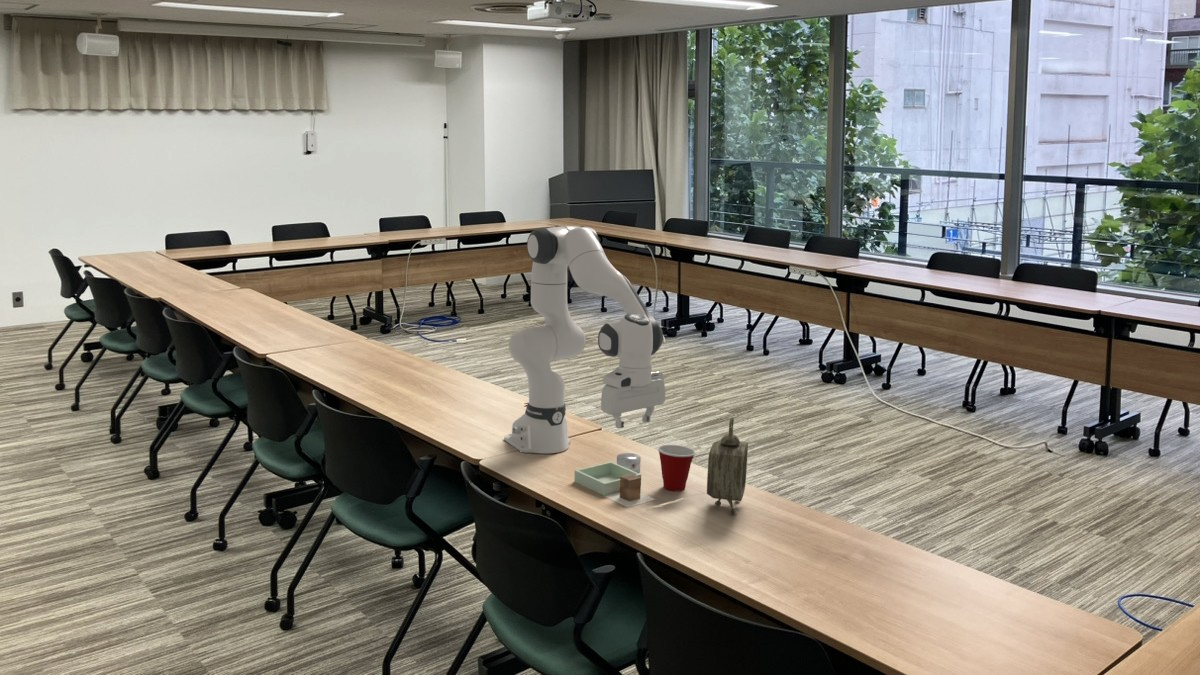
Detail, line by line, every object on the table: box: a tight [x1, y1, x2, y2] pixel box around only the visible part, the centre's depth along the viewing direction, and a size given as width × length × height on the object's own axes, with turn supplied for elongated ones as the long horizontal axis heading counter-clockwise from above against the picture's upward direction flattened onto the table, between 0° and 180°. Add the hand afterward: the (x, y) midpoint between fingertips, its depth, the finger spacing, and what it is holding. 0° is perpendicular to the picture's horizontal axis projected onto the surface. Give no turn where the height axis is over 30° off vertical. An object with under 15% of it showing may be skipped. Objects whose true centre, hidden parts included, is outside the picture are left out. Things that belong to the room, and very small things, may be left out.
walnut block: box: [620, 474, 642, 501], centre depth 280 cm, size 4×4×6 cm
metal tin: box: [616, 452, 642, 474], centre depth 301 cm, size 7×7×5 cm
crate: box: [573, 461, 642, 496], centre depth 290 cm, size 13×13×4 cm
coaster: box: [603, 492, 656, 508], centre depth 280 cm, size 10×10×1 cm
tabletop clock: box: [706, 417, 749, 516], centre depth 275 cm, size 14×9×25 cm, turn 166°
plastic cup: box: [657, 444, 697, 492], centre depth 288 cm, size 11×11×12 cm
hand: (633, 424), depth 277 cm, fingers open, 8 cm apart
